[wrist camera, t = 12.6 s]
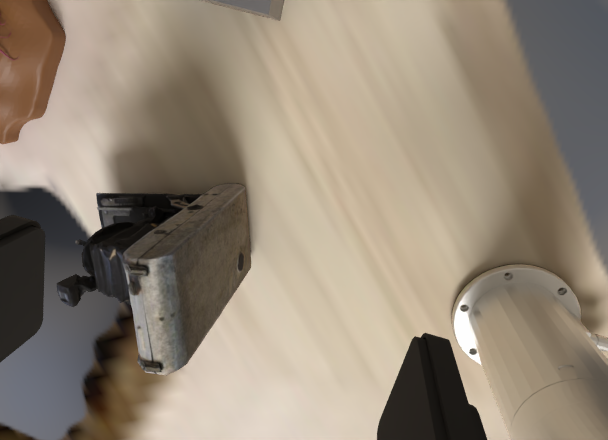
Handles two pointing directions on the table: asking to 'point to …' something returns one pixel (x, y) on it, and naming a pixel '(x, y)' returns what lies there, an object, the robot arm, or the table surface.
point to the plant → (26, 62)
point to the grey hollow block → (254, 6)
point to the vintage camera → (167, 266)
